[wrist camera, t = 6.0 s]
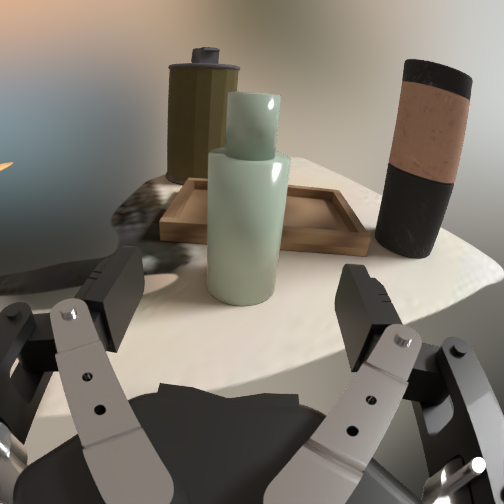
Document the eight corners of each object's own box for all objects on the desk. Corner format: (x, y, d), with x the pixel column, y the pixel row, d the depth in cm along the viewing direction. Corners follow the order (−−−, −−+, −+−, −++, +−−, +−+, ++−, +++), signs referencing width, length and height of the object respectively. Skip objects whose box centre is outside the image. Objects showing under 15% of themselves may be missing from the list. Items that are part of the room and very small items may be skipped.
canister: (244, 182, 47) (255, 49, 37) (177, 189, 42) (182, 43, 33) (215, 164, 55) (222, 53, 45) (158, 170, 50) (161, 51, 41)
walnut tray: (160, 240, 30) (159, 221, 29) (188, 191, 42) (188, 177, 41) (366, 256, 30) (371, 238, 29) (336, 204, 42) (339, 190, 41)
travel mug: (359, 232, 35) (389, 55, 25) (397, 224, 38) (427, 72, 29) (409, 265, 29) (454, 64, 19) (443, 252, 33) (483, 85, 23)
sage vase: (202, 303, 22) (205, 92, 15) (211, 263, 27) (216, 90, 20) (276, 307, 23) (303, 99, 16) (273, 267, 27) (292, 95, 20)
